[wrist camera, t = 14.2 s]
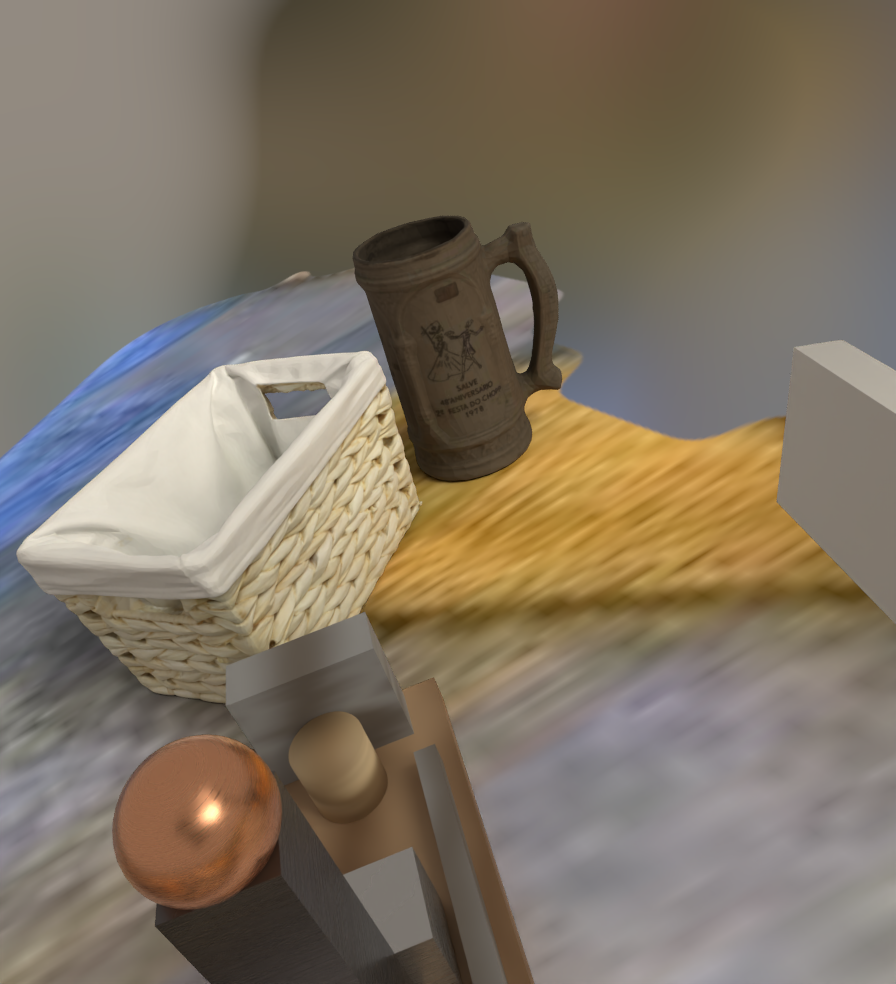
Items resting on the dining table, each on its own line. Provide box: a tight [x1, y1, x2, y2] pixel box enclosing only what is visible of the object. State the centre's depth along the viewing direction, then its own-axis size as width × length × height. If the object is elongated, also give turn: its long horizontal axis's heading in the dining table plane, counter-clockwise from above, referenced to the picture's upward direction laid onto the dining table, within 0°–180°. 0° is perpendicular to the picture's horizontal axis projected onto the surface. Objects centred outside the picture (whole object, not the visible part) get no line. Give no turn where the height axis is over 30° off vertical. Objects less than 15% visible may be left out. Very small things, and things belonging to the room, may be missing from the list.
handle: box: [112, 735, 462, 984], centre depth 27 cm, size 7×8×19 cm
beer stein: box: [353, 216, 562, 481], centre depth 67 cm, size 15×11×20 cm
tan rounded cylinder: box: [289, 711, 388, 824], centre depth 42 cm, size 4×4×4 cm
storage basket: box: [17, 351, 422, 703], centre depth 58 cm, size 24×16×15 cm
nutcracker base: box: [226, 612, 534, 984], centre depth 36 cm, size 12×24×9 cm, turn 14°
